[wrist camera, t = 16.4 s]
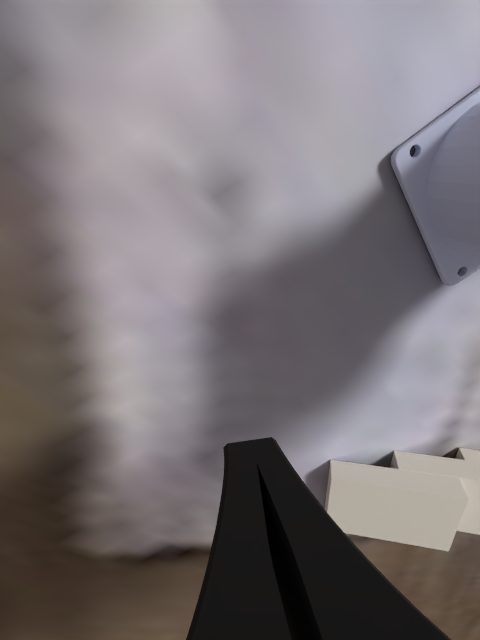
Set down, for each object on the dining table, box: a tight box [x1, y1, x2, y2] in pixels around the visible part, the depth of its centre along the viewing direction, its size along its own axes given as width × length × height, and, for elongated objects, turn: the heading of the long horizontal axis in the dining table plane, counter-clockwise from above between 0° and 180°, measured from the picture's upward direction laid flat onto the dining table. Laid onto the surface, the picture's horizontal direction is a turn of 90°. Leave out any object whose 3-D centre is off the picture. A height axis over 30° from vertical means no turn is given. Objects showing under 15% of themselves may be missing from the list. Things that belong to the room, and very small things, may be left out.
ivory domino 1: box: [324, 460, 468, 551], centre depth 23 cm, size 2×5×8 cm
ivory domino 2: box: [390, 451, 480, 535], centre depth 23 cm, size 2×5×8 cm
